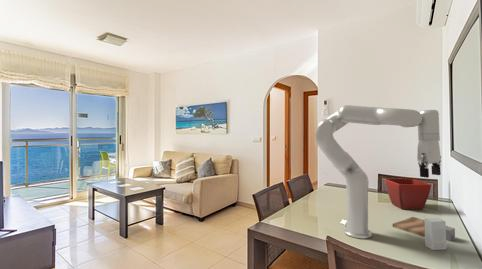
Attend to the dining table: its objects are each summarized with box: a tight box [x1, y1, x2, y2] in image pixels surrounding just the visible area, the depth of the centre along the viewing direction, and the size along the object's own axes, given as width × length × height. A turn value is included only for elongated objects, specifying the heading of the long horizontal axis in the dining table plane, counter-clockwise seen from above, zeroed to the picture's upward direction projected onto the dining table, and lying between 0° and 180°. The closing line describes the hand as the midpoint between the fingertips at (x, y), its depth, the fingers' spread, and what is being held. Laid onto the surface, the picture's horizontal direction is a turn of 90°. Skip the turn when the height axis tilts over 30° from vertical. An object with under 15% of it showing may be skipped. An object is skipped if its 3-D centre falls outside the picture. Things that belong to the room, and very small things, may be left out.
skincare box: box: [423, 217, 447, 251], centre depth 102 cm, size 6×4×12 cm
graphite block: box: [446, 225, 456, 242], centre depth 111 cm, size 5×5×5 cm
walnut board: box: [392, 216, 425, 238], centre depth 123 cm, size 16×20×2 cm
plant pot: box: [384, 178, 432, 211], centre depth 158 cm, size 19×19×17 cm
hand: (430, 175), depth 107 cm, fingers open, 9 cm apart
